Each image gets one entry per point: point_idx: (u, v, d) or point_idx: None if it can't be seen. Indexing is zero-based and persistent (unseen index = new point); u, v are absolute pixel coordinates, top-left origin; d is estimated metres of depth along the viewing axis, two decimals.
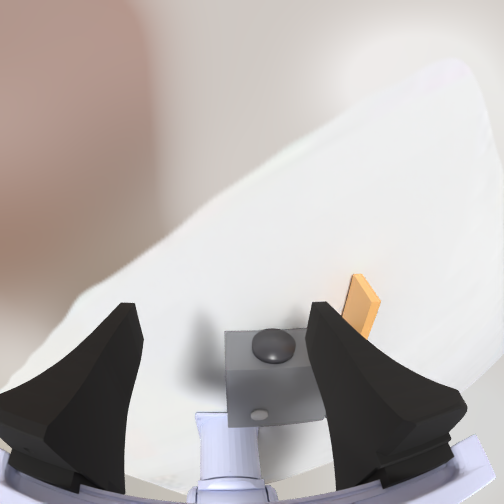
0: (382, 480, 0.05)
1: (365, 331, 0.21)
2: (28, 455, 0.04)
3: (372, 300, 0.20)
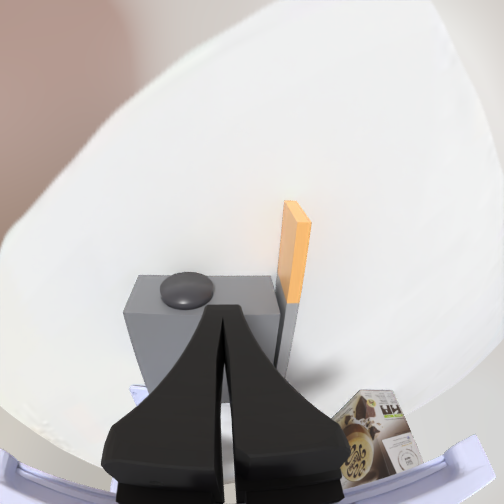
0: None
1: (297, 269, 0.17)
2: (145, 486, 0.05)
3: (299, 221, 0.16)
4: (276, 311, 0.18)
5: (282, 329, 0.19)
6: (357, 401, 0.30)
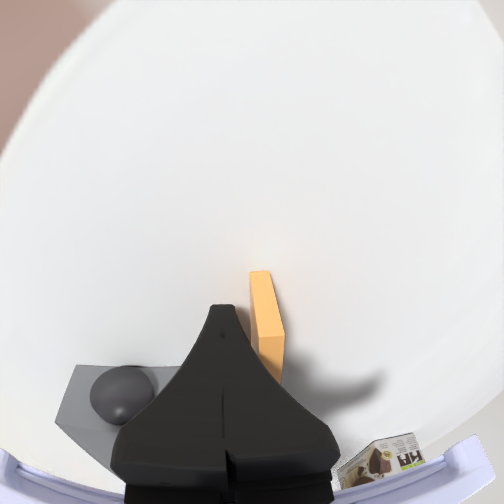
0: None
1: None
2: (153, 487, 0.05)
3: (263, 332, 0.09)
4: None
5: None
6: (371, 453, 0.23)
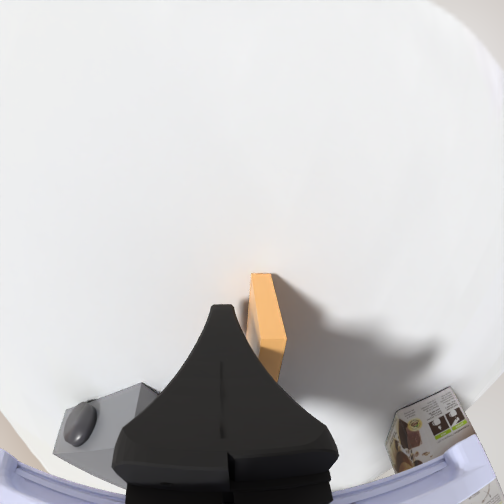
0: None
1: None
2: (154, 488, 0.05)
3: (265, 334, 0.09)
4: None
5: None
6: (398, 425, 0.20)
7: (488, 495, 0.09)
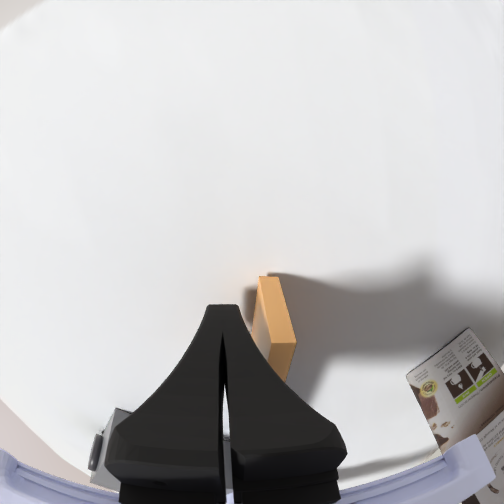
0: None
1: None
2: (148, 487, 0.05)
3: (275, 338, 0.09)
4: (104, 457, 0.13)
5: None
6: None
7: None
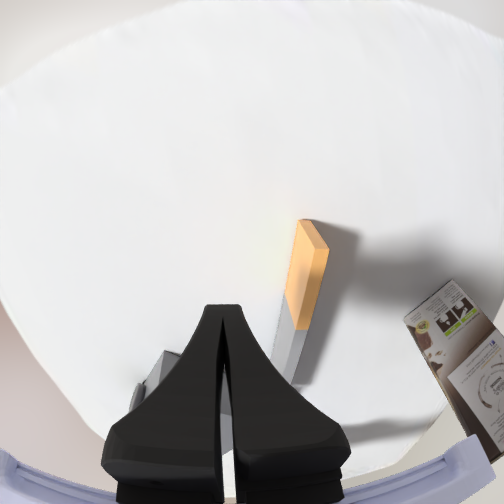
0: None
1: (310, 296, 0.16)
2: (145, 486, 0.05)
3: (316, 247, 0.14)
4: None
5: (288, 354, 0.18)
6: (410, 332, 0.23)
7: None
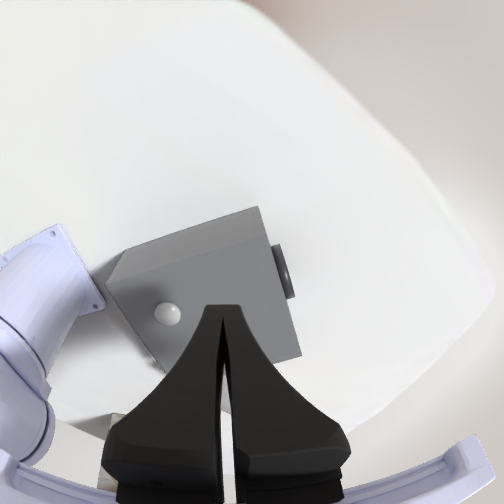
0: None
1: None
2: (144, 486, 0.05)
3: None
4: (300, 351, 0.20)
5: None
6: None
7: None
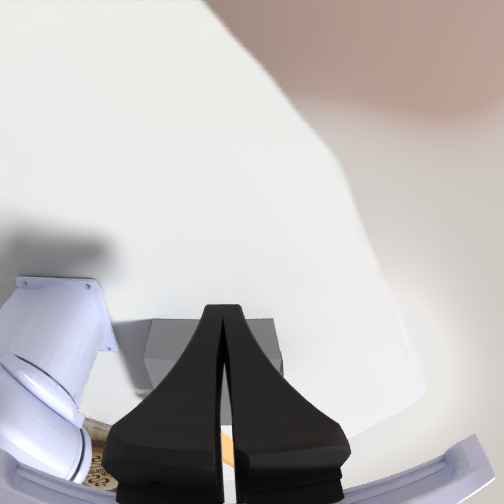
0: None
1: (229, 463, 0.30)
2: (144, 486, 0.05)
3: None
4: None
5: None
6: None
7: None
